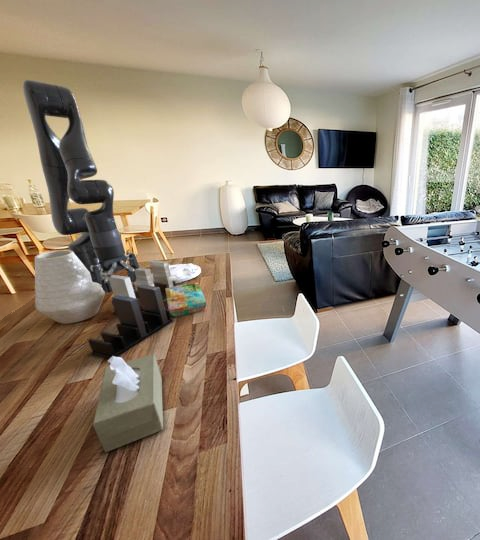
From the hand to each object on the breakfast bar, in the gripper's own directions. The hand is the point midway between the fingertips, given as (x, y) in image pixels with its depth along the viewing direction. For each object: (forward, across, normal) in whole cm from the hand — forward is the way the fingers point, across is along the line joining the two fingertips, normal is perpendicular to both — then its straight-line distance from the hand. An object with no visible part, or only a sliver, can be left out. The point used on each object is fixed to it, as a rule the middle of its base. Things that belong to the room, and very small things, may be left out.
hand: (121, 286), depth 101 cm
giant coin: (+10, -31, -9) cm, 34 cm away
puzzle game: (+10, -11, +15) cm, 21 cm away
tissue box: (+10, +33, +42) cm, 54 cm away
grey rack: (+10, +11, +16) cm, 22 cm away
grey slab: (+10, -8, 0) cm, 13 cm away
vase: (+10, +7, -14) cm, 19 cm away
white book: (+9, 0, 0) cm, 9 cm away
